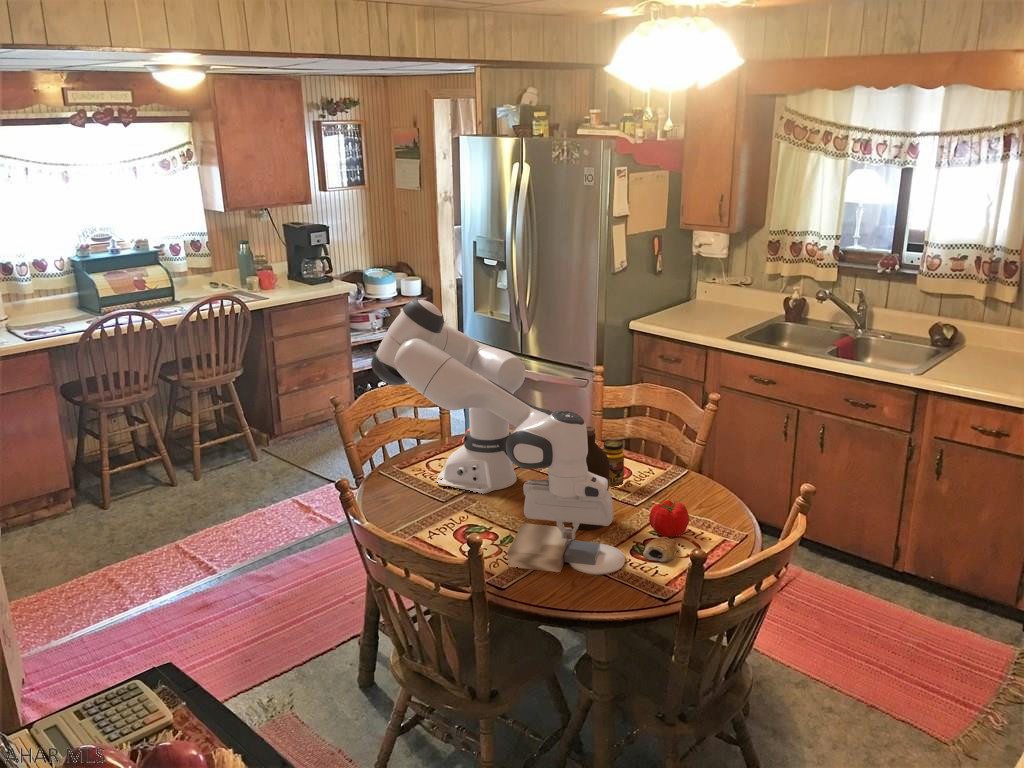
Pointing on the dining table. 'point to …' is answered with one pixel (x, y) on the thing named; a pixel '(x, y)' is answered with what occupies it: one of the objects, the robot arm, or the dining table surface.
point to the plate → (603, 562)
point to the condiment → (615, 462)
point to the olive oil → (595, 467)
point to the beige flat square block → (538, 548)
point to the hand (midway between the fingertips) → (568, 537)
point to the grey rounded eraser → (582, 552)
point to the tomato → (669, 519)
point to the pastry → (660, 549)
